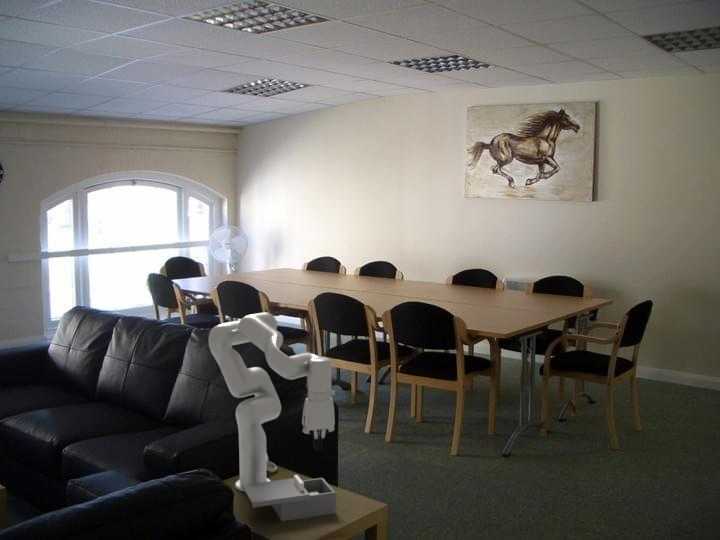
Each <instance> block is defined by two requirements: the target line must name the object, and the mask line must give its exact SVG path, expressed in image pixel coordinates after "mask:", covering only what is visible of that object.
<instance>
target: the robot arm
mask: <svg viewBox="0 0 720 540" xmlns="http://www.w3.org/2000/svg"><path fill="white" fill-rule="evenodd" d="M277 329H278V322H277V319H276V317H275V316H274V315H273V314H271V313H270V312H268V311H267V312H265V311H263V312H258V313H252V314H248V315H245V316H243V317H242V318H241V319H240V320H233V321H227V322H223V323H220V324H218V325H215V326H214V327H213V328H211V330H210V332H209V335H208V348H209V350H210V353H211V355H212V357H214V359H215V361H216V363H217V364H218V368H220V371H221V374H222V376H223V378H224V381H225V383H226V386H227V388H228V390H229V393H230V394H231V395H232V396H233V397H234V398H237V399H239V398H245V397H248V396H252V395H254V397H251V398H247V399H244V400H242V401H241V402H239V404H238V405H237V407H236V409H235V419H236V423H237V429H238V430H237V431H238V448H239V449H238V451H239V455H238V456H239V460H238V461H239V462H238V463H239V479H238V480H237V481H235V488H236V489H237V490H238V491H241V492H245V490H243V485H246V484H254V483H261V482H269V481H271V479H270V478H268V477H267V475H268V474H267V471H268V470H267V466H266V453H267V436H266V433H265V431H264V428H263V426H262V424H264V423H266V422H269V421H272V420H276V419H277V418H278V417H279V415H280V414H281V411H282V405H281V404H282V403H281V401H280V397H279V395H278V393H277V391H276V388H275V386H274V384H273V382H272V380H271V377H270V375H269V374H268V372H267V371H266V370H265V369H263V368H262V367H260V366H253V367H247V366H246V364H245V362H244V360H243V358H242V356H241V355H240V353H239V352H238V351H237V350H236V349H234V348H233V346H236V345H237V346H238V345H240V344H246V343H252V344H253V345H255V346H256V347H257V348H258V349H259V350H261V351H262V352H264V356H265V360H266V362H267V364H268V366H269V368H271V370H272V371H274V372H275V373H277V374H278V375H279V376H281V377H282V378H284V379H285V380H295V379H299V378H303V377H308V381H307V382H308V383H307V385H308V386H307V397H305V400H304V403H303V410H302V418H301V419H302V421H301V424H302V426H303V428H302V433H304V434H307V435H311V436H312V438H313V442H312V443H313V444H312V446H313V448H314V450H316V451H322V450H323V447H324V439H325V437H326V436H327V435H328V433H332V432H334V431H335V429H336V428H335V424H336V423H335V421H336V420H335V406H334V405H335V403H334V401H333V398H332V396H334V395H336V391H335V390H332V373H333V372H332V370H333V369H332V360H331V359H330V358H329V357H326V356H325V357H324V356H319V355H316V354H314V353H312V352H302V353H299V354H294V355H290V356H288V355H287V354H285V353H284V352H282V351H281V349H280V348H281V347H282V344H283V342H284V336H283V334H282V333H281V332H280V331H278V330H277ZM318 431H319V432H318Z"/></svg>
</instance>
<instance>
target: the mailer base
mask: <svg viewBox="0 0 720 540" xmlns="http://www.w3.org/2000/svg"><path fill="white" fill-rule="evenodd" d="M301 480H302V481H303V483H304V488H305V489H306V490H307V492H308V493H309V494H310V499H309V500H302V501H295V502H288V503H281V504H274V505H271V506H272V508H273V510H274V509H275V510H274V511H275V513H276V512H277V513H276V515H277V514H278V515H279V516H278V515H277V516H278V518H279V517H280V518H279V519H280V521H281V520H282V521H281V522H287V521H286V520H289V521H294V520H300V519H301V520H302V519H307V518H314V517H321V516H327V515H328V516H329V515H333V514H334V515H335V514H336V513H337V512H336V511H337V508H336V507H337V505H336V504H337V503H336V502H337V501H336V500H337V498H336V493H337V492H336V491H335V490H334V488H332V487H331V485H330V484H329V483H328V482H327V481H326V479H325V478H323V477H318V478H313V479H304V480H303V479H301Z"/></svg>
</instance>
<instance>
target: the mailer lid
mask: <svg viewBox="0 0 720 540" xmlns="http://www.w3.org/2000/svg"><path fill="white" fill-rule="evenodd" d="M302 480H303V479H301V477H300V476H299V475H298V474H293V477H291V478H286V479H285V478H284V479H276V480H270V481H269V482H261V483H254V484H246V485H243V490H245V491H244V492H245V494H246V495H247V497H248V499H249V501H250V502H251V504H252V508H258V507H266V506H272V505H274V504H281V503H288V502H295V501H302V500H309V499H310V494H309V493H308V492H307V490H306V489H305V488H304V483H303V481H302Z"/></svg>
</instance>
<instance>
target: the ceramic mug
mask: <svg viewBox="0 0 720 540" xmlns="http://www.w3.org/2000/svg"><path fill="white" fill-rule="evenodd" d="M266 466H267V471H268V472H272V473H274V472H276V471H277V469H278V466H277V465H276V464H275V463H274V462H272V461H269V456H268V453H267V452H266Z"/></svg>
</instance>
